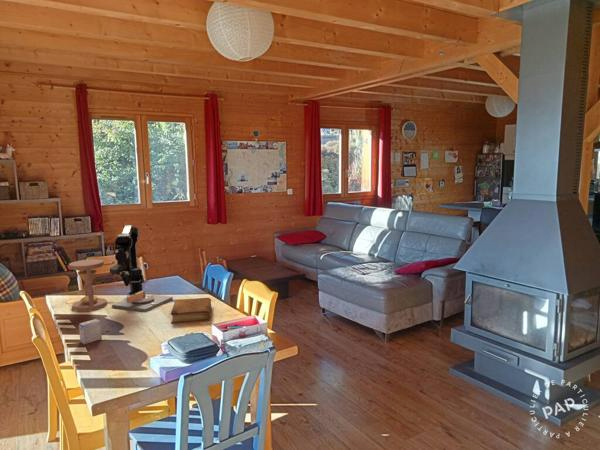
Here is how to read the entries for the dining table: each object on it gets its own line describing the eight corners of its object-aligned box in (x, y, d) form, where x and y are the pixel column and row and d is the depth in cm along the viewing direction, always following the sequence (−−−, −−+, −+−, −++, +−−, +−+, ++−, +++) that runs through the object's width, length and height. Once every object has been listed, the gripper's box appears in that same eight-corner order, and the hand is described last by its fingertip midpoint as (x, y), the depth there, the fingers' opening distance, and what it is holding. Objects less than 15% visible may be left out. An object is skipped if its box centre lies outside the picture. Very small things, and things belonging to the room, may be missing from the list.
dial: (141, 296, 256) (141, 287, 255) (158, 298, 252) (158, 289, 251) (120, 305, 240) (119, 295, 240) (137, 307, 236) (137, 297, 235)
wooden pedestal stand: (106, 308, 240) (102, 264, 236) (70, 313, 234) (66, 267, 230) (107, 299, 256) (104, 258, 253) (74, 303, 250) (70, 260, 246)
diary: (210, 321, 219) (209, 310, 218) (171, 324, 216) (170, 313, 215) (211, 307, 241) (210, 297, 241) (176, 309, 238) (175, 299, 237)
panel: (112, 307, 242) (111, 303, 242) (141, 295, 263) (140, 292, 263) (145, 311, 234) (145, 308, 234) (172, 299, 255) (172, 295, 255)
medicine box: (97, 336, 201) (96, 318, 199) (102, 339, 198) (100, 320, 197) (79, 342, 195) (78, 323, 193) (84, 344, 192) (83, 325, 191)
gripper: (100, 259, 235) (102, 287, 238) (125, 262, 227) (127, 291, 229) (117, 255, 245) (119, 282, 247) (141, 258, 237) (143, 286, 239)
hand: (126, 286), depth 241 cm, fingers closed
